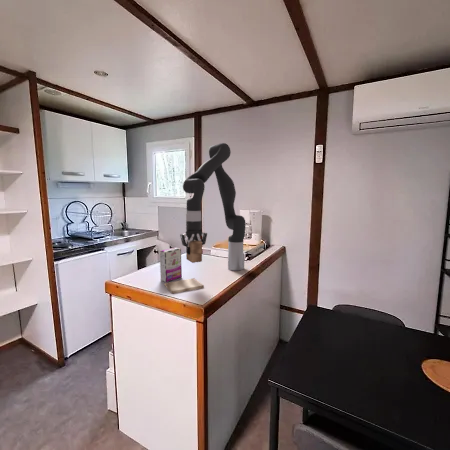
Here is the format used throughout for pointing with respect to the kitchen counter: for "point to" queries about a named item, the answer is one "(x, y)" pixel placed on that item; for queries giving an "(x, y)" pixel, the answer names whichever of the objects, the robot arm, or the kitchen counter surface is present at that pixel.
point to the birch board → (183, 285)
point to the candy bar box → (170, 264)
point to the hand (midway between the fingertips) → (194, 253)
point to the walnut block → (195, 251)
